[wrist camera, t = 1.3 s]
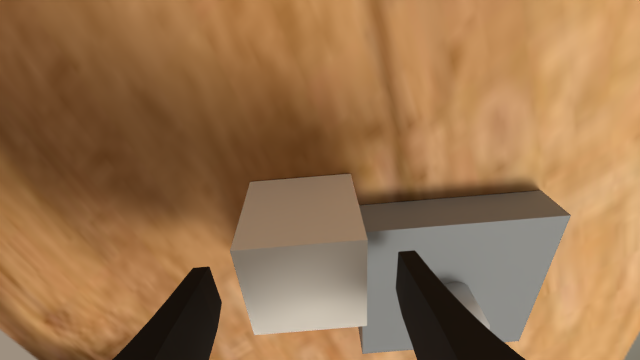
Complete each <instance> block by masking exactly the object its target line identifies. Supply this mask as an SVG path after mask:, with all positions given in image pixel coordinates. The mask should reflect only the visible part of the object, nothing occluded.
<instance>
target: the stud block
mask: <svg viewBox="0 0 640 360" xmlns="http://www.w3.org/2000/svg"><path fill="white" fill-rule="evenodd" d="M359 208H360V212H361V216H362V220H363V224H364V227H365V231H366V235H367V239H368V253H367V326H359V327H358V328H359V334H360V341H361V347H362V353H363V354H365V353H377V352H390V351H402V350H414V349H413V346H412V343H411V340H410V337H409V335H408V332H407V329H406V326H405V323H404V320H403V317H402V314H401V310H400V306H399V302H398V297H397V293H396V277H397V263H398V252H400V251H413V250H415V251H416V252H417V253H418V254H419V256H420V257H421V258H422V259H423V261H424V262H425V263H426V264H427V265H428V267H429V268H430V269H431V270H432V271H433V273H434V274H435V275H436V276H437V277H438V278H439V280H440V281H441V282H442V283H443V284H444V285H445V286H446V287H447V288H448V289H449V291H450V292H451V293H452V294H453V295H454V296H455V297H456V298H457V299H458V300H459V301H460V302H461V303H462V304H463V305H464V306H465V307H466V308H467V309H468V310H469V311H470V312H471V313H472V314H473V315H474V316H475V317H476V318H477V319H478V320H479V321H480V322H481V323H482V324H483V325H485V326H486V327H487V328H488V329H489V330H490V331H491V332H492V333H494V334H495V335H496V336H497V337H498V338H499V339H501V340H502V341H503V342H512V341H519V339H520V337H521V334H522V332H523V330H524V327H525V325H526V322H527V320H528V317H529V315H530V313H531V310H532V308H533V305H534V303H535V301H536V298H537V296H538V293H539V291H540V289H541V286H542V284H543V281H544V279H545V276H546V274H547V272H548V269H549V267H550V264H551V262H552V260H553V257H554V255H555V252H556V250H557V248H558V245H559V243H560V240H561V238H562V235H563V233H564V231H565V228H566V226H567V223H568V221H569V219H570V216H571V215H570V214H569V213H567V212H566V211H565V210H564V209H563V208H561V207H560V206H559V205H558V204H557V203H555V202H554V201H553V200H552V199H551V198H549V197H548V196H547V195H546V194H545V193H543V192H542V191H541V190H540V191H528V192H516V193H504V194H491V195H479V196H467V197H455V198H443V199H430V200H418V201H406V202H394V203H381V204H369V205H359Z"/></svg>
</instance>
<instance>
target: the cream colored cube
mask: <svg viewBox="0 0 640 360" xmlns="http://www.w3.org/2000/svg"><path fill="white" fill-rule="evenodd" d="M230 253H231V256H232V260H233V263H234V267H235V270H236V273H237V277H238V280H239V284H240V287H241V291H242V294H243V298H244V301H245V305H246V308H247V312H248V315H249V318H250V322H251V325H252V329H253V332H254V335H261V334H273V333H286V332H298V331H310V330H322V329H335V328H347V327H359V326H367V253H368V239H367V235H366V231H365V227H364V224H363V220H362V216H361V212H360V208H359V204H358V200H357V196H356V192H355V188H354V184H353V180H352V177H351V174H340V175H328V176H316V177H303V178H291V179H279V180H267V181H255V182H250V184H249V188H248V191H247V194H246V198H245V201H244V205H243V208H242V211H241V215H240V218H239V222H238V225H237V229H236V232H235V235H234V239H233V242H232V246H231V249H230Z"/></svg>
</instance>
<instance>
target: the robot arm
mask: <svg viewBox="0 0 640 360" xmlns="http://www.w3.org/2000/svg"><path fill="white" fill-rule="evenodd" d="M396 293H397V297H398V302H399V306H400V310H401V314H402V317H403V320H404V323H405V326H406V329H407V332H408V335H409V337H410V340H411V343H412V346H413V349H414V352H415V354H416V357H417V360H525V359H524V358H523V357H521V356H520V355H519V354H518V353H516V352H515V351H514V350H513V349H511V348H510V347H509V346H508V345H507V344H505V343H504V342H503V341H502V340H501V339H499V338H498V337H497V336H496V335H495V334H494V333H492V332H491V331H490V330H489V329H488V328H487V327H486V326H485V325H483V324H482V323H481V322H480V321H479V320H478V319H477V318H476V317H475V316H474V315H473V314H472V313H471V312H470V311H469V310H468V309H467V308H466V307H465V306H464V305H463V304H462V303H461V302H460V301H459V300H458V299H457V298H456V297H455V296H454V295H453V294H452V293H451V292H450V291H449V289H448V288H447V287H446V286H445V285H444V284H443V283H442V282H441V281H440V280H439V278H438V277H437V276H436V275H435V274H434V273H433V271H432V270H431V269H430V268H429V267H428V265H427V264H426V263H425V262H424V261H423V259H422V258H421V257H420V256H419V254H418V253H417V252H416V251H415V250H413V251H400V252H398V263H397V277H396ZM221 304H222V302H221V299H220V296H219V293H218V290H217V287H216V285H215V282H214V279H213V276H212V273H211V270H210V267H199V268H193V269H192V270H191V271H190V272H189V274H188V275H187V276H186V277H185V278H184V280H183V281H182V282H181V283H180V285H179V286H178V287H177V288H176V290H175V291H174V292H173V293H172V294H171V296H170V297H169V298H168V299H167V301H166V302H165V303H164V304H163V305H162V306H161V308H160V309H159V310H158V311H157V312H156V314H155V315H154V316H153V317H152V318H151V319H150V320H149V322H148V323H147V324H146V325H145V326H144V327H143V328H142V329H141V330H140V331H139V333H138V334H137V335H136V336H135V337H134V338H133V339H132V340H131V341H130V342H129V343H128V344H127V345H126V347H125V348H124V349H123V350H122V351H121V352H120V353H119V354H118V355H117V356H116V357H115V358H114V359H113V360H209V357H210V353H211V350H212V346H213V343H214V339H215V336H216V332H217V328H218V323H219V317H220V310H221Z"/></svg>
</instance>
